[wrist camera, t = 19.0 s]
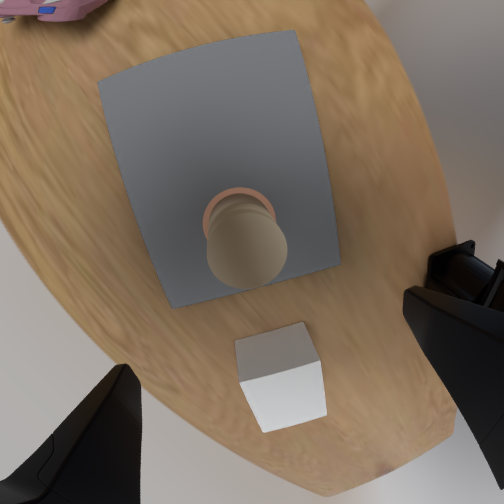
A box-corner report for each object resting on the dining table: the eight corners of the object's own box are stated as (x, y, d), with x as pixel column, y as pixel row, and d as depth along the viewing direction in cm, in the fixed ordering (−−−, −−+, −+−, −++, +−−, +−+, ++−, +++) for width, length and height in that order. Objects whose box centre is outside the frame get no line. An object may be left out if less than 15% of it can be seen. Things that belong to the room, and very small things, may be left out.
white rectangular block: (302, 320, 24) (320, 360, 19) (312, 378, 27) (326, 415, 22) (234, 339, 24) (239, 382, 19) (256, 393, 27) (263, 432, 22)
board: (291, 33, 15) (294, 29, 14) (336, 260, 22) (340, 264, 21) (101, 83, 15) (97, 82, 14) (173, 303, 22) (172, 309, 21)
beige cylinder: (262, 186, 18) (278, 204, 13) (275, 242, 20) (293, 277, 15) (201, 202, 18) (195, 226, 13) (218, 258, 20) (219, 297, 15)
